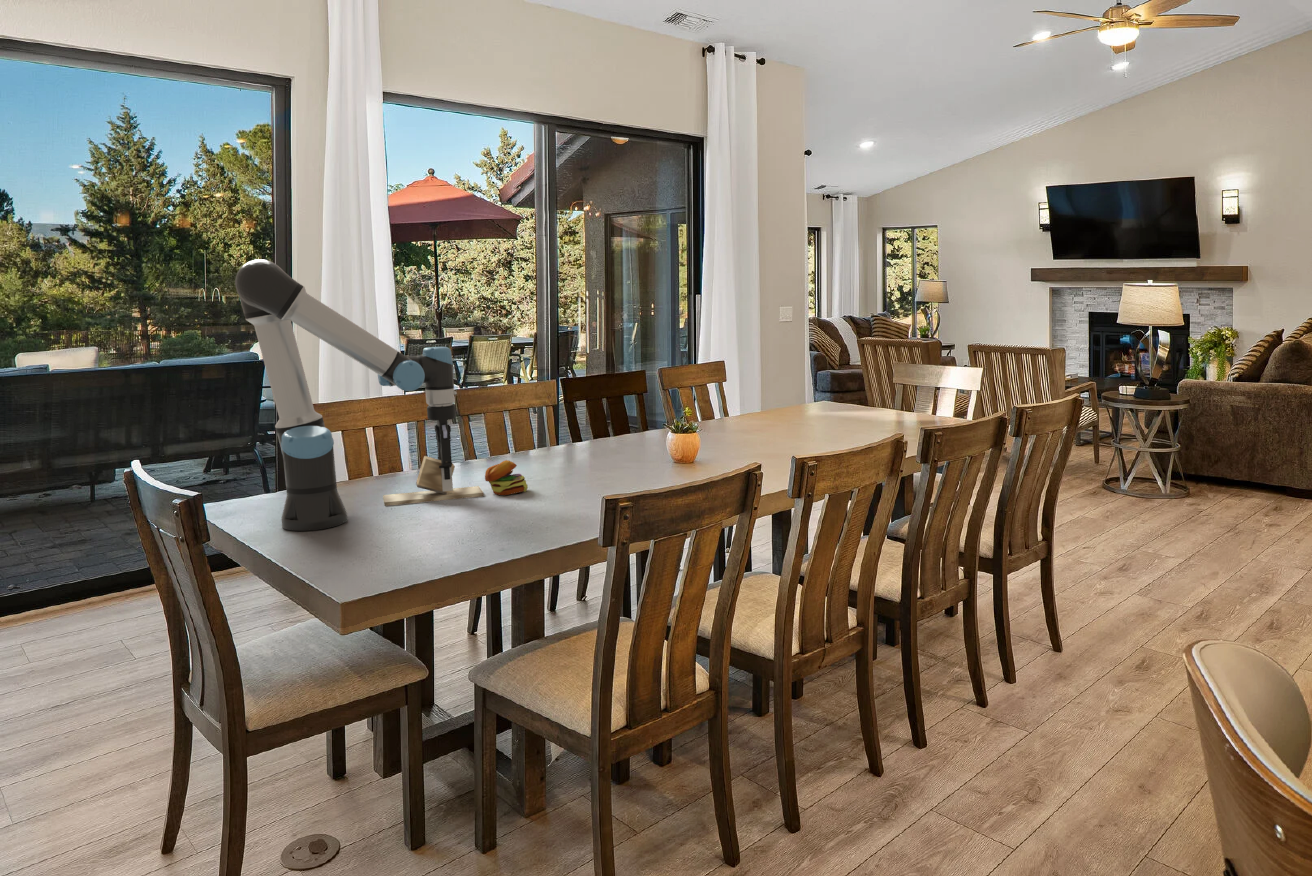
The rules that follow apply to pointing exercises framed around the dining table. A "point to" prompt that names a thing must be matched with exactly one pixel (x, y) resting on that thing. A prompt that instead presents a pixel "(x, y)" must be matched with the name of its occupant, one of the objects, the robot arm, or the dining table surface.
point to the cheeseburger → (505, 479)
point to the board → (432, 496)
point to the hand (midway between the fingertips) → (446, 488)
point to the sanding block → (431, 475)
